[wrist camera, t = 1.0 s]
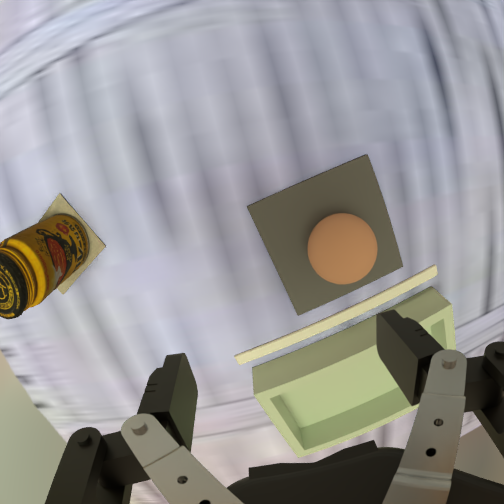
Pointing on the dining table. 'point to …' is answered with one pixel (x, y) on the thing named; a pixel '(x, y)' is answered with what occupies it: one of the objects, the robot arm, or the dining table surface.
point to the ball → (342, 248)
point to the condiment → (45, 258)
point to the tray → (343, 380)
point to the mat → (309, 215)
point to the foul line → (337, 317)
